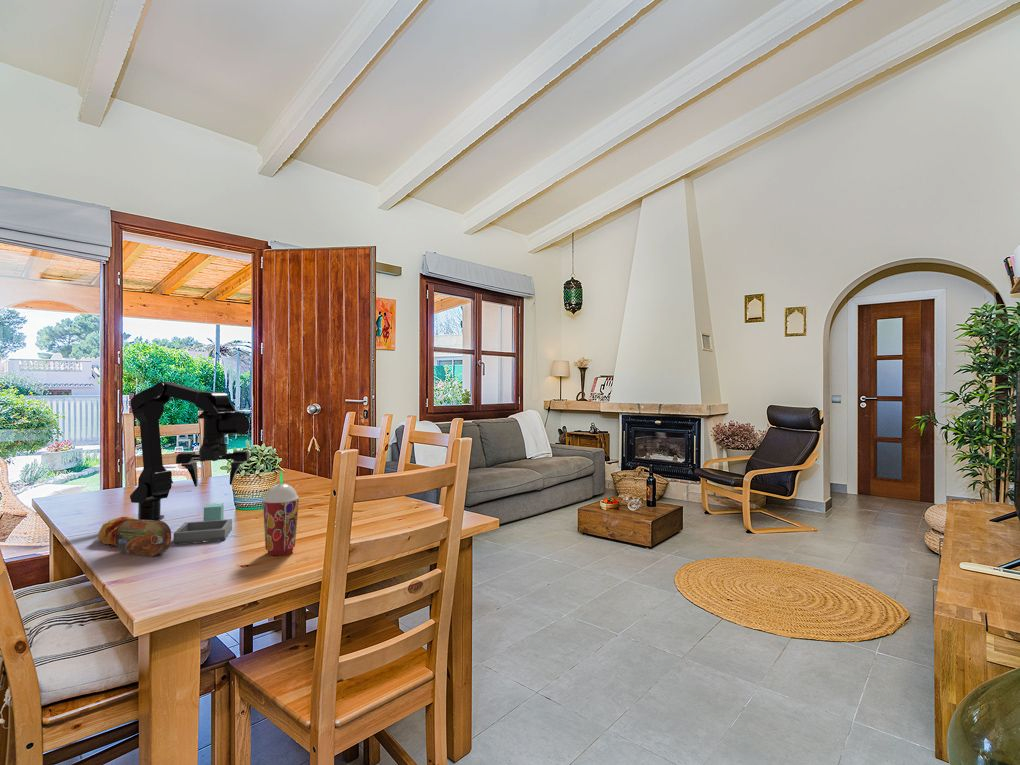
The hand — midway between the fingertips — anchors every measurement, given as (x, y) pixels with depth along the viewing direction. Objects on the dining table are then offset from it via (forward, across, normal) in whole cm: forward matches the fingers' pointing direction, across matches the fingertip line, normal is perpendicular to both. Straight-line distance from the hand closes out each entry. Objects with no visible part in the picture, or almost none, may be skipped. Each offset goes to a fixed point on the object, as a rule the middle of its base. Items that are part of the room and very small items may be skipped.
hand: (213, 485), depth 156 cm
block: (+12, 0, 0) cm, 12 cm away
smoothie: (+12, +21, -35) cm, 43 cm away
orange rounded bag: (+12, -11, -25) cm, 30 cm away
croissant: (+12, -20, -9) cm, 25 cm away
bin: (+12, 0, -13) cm, 18 cm away
